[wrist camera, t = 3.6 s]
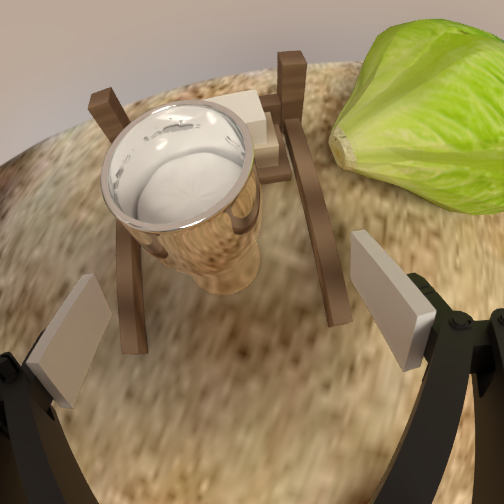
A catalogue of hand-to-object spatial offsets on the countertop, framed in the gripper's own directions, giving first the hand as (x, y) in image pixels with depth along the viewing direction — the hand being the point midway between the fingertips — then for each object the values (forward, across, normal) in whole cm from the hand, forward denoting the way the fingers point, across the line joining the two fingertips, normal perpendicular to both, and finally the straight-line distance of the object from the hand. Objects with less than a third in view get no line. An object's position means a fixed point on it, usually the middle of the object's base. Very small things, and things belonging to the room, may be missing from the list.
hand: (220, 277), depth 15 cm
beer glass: (+10, -1, -4) cm, 11 cm away
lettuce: (+15, +20, 0) cm, 25 cm away
